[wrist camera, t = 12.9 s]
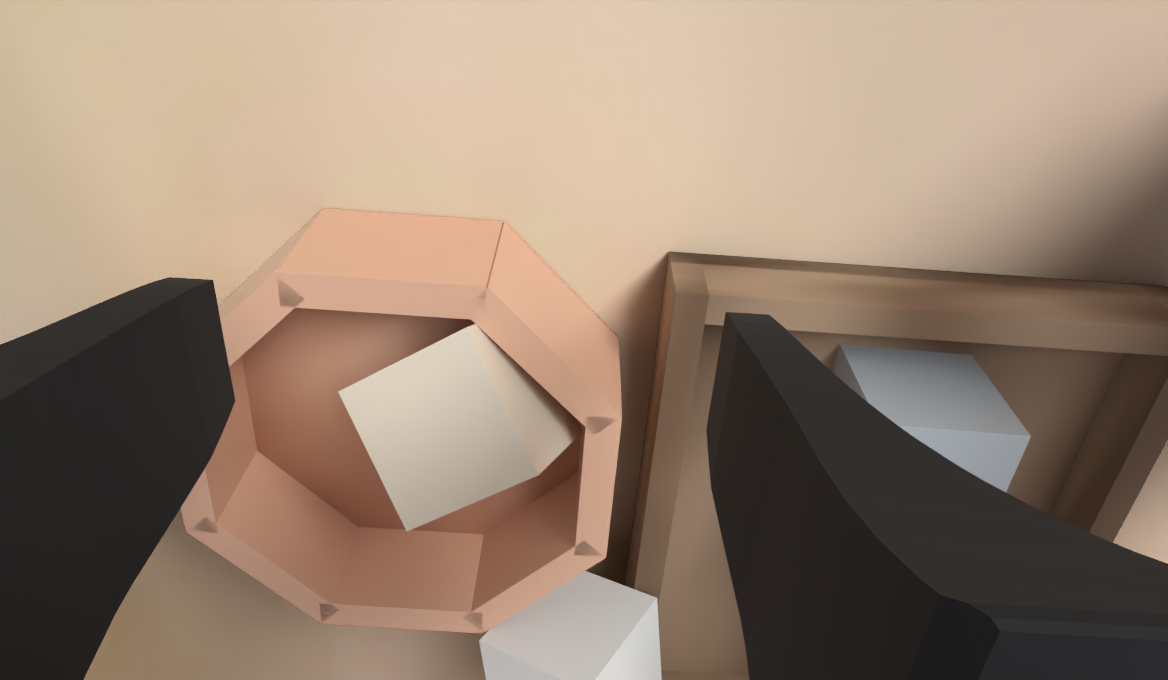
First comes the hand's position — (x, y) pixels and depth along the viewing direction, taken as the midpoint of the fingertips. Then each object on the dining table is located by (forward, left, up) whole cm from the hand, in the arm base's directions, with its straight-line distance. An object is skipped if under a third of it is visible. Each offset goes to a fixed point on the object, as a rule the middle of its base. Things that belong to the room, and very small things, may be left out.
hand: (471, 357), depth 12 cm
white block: (-2, +12, -6) cm, 13 cm away
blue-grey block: (-10, +6, -8) cm, 14 cm away
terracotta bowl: (+3, +7, -9) cm, 11 cm away
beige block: (0, +6, -5) cm, 8 cm away
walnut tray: (-10, +10, -9) cm, 16 cm away
